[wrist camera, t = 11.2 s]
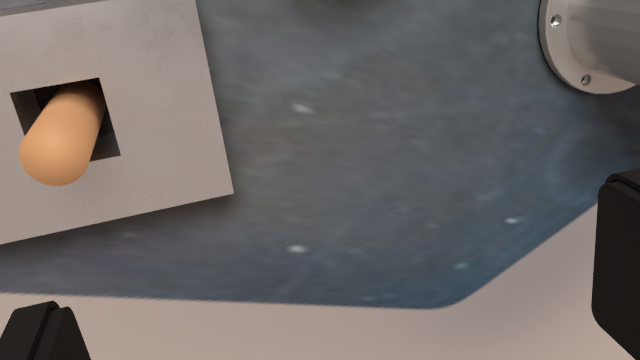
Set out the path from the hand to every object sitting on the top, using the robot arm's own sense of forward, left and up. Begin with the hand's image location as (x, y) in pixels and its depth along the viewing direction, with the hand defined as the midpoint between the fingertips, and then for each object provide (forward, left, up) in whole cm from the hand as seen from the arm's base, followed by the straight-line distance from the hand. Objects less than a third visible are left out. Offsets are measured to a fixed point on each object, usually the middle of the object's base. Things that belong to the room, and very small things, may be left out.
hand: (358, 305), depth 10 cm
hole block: (+9, +2, -30) cm, 31 cm away
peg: (+9, +2, -30) cm, 31 cm away
